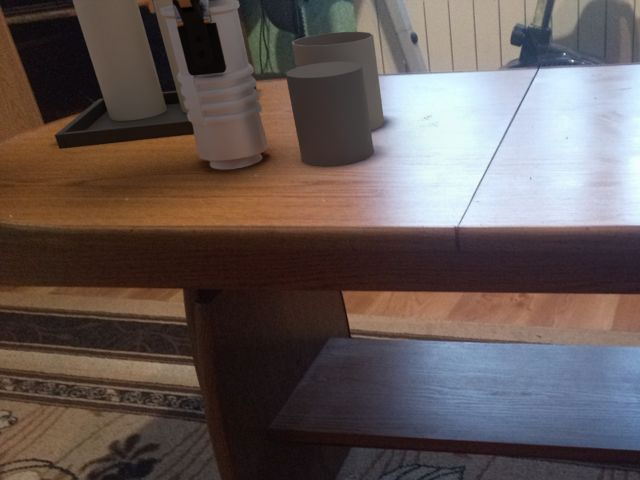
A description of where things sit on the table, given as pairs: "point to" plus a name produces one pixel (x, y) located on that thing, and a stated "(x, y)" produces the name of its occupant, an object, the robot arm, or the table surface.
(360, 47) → the cup
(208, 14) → the robot arm
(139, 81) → the ivory candle left
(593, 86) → the table surface
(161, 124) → the tray
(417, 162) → the table surface
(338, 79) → the grey candle
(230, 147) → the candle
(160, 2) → the ivory candle right
